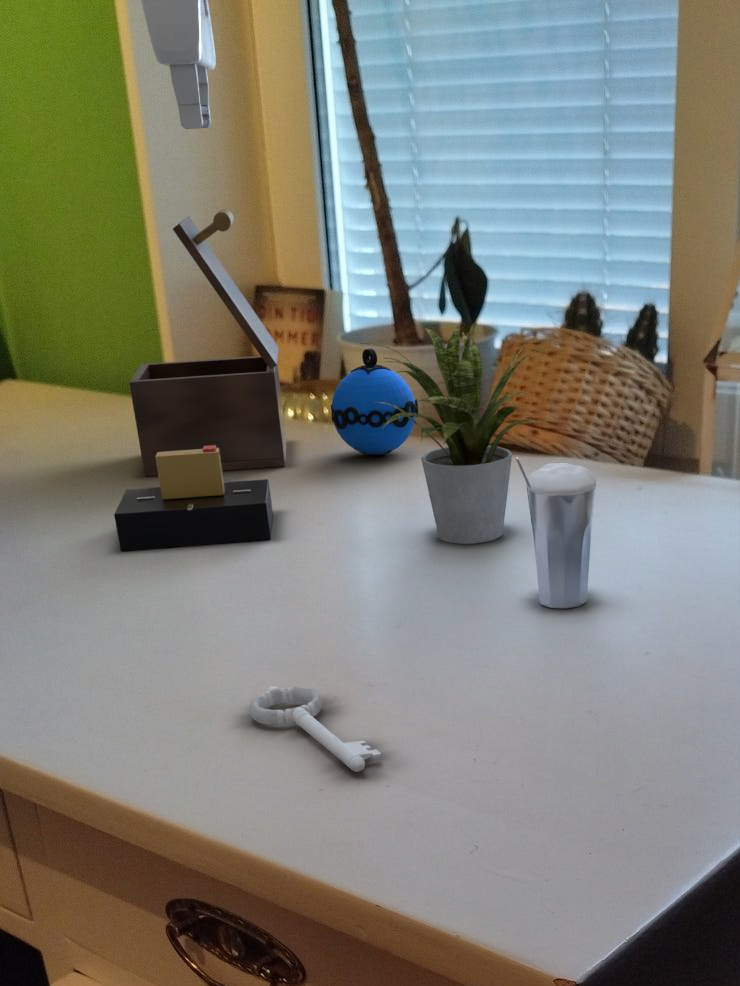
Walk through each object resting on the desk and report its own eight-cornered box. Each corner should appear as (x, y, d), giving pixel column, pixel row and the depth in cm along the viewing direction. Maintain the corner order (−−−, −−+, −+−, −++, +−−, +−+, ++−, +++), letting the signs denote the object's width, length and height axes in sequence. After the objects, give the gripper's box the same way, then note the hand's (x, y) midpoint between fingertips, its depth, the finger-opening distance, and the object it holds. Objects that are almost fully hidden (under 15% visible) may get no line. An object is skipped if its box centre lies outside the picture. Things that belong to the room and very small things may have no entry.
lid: (172, 228, 118) (213, 197, 117) (182, 221, 127) (220, 192, 126) (270, 369, 124) (309, 341, 123) (272, 352, 133) (309, 325, 133)
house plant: (344, 526, 109) (323, 315, 101) (491, 499, 114) (483, 297, 106) (416, 569, 98) (399, 336, 90) (576, 537, 103) (574, 314, 95)
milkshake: (508, 598, 91) (503, 451, 86) (579, 587, 92) (578, 441, 87) (534, 618, 87) (530, 465, 82) (607, 605, 89) (607, 454, 84)
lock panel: (119, 553, 105) (112, 514, 103) (133, 522, 113) (126, 485, 111) (270, 541, 106) (265, 502, 104) (273, 512, 114) (268, 475, 112)
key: (304, 692, 77) (237, 707, 76) (303, 677, 77) (235, 692, 75) (397, 765, 68) (322, 785, 66) (396, 749, 68) (321, 768, 66)
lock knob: (162, 500, 107) (154, 453, 105) (164, 495, 108) (156, 448, 107) (224, 495, 107) (217, 448, 106) (225, 490, 109) (218, 444, 107)
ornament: (317, 456, 132) (306, 351, 127) (384, 441, 137) (376, 339, 132) (370, 469, 126) (361, 359, 121) (438, 452, 131) (432, 346, 126)
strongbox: (144, 476, 128) (128, 382, 123) (155, 452, 137) (141, 363, 133) (285, 466, 129) (274, 372, 124) (286, 443, 138) (276, 354, 134)
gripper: (147, -47, 118) (172, 129, 125) (116, -76, 100) (148, 131, 107) (217, -50, 118) (239, 126, 125) (200, -80, 100) (226, 126, 107)
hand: (197, 128), depth 116 cm, fingers open, 8 cm apart
